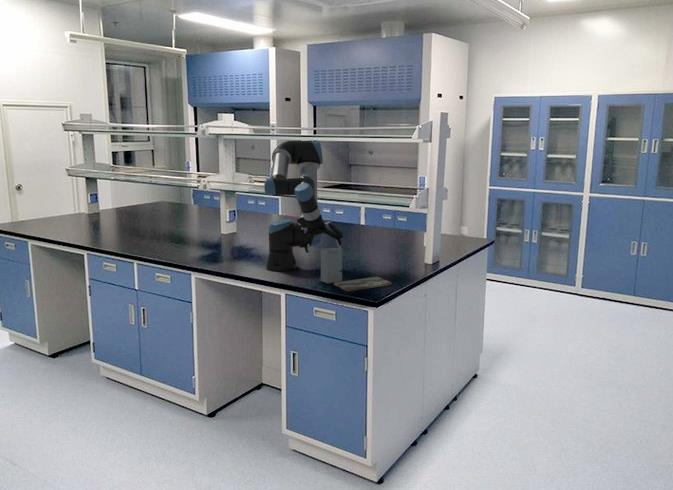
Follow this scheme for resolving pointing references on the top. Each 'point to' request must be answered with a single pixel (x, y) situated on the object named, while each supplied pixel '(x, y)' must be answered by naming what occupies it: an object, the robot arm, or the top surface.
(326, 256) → the skincare box
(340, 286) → the board
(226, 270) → the top surface
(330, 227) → the robot arm
